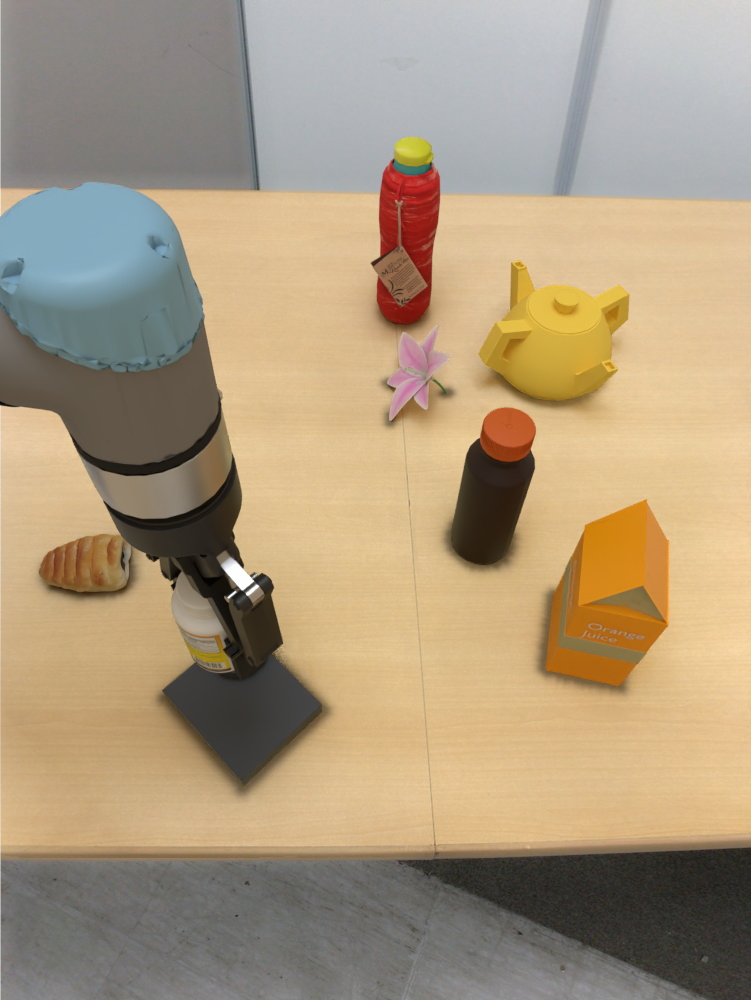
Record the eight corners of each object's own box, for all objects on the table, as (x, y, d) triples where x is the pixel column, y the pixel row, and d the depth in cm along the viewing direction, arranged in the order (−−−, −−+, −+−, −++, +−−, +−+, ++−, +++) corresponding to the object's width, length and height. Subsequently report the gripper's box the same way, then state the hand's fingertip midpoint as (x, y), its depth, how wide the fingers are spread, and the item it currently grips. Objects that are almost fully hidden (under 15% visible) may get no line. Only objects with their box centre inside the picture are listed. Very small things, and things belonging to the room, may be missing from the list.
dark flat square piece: (159, 689, 74) (151, 676, 71) (245, 618, 78) (241, 603, 76) (243, 786, 69) (238, 776, 66) (330, 703, 73) (329, 691, 70)
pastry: (41, 602, 79) (27, 584, 76) (48, 548, 83) (36, 529, 80) (130, 592, 80) (121, 575, 77) (134, 539, 84) (125, 520, 81)
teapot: (469, 390, 97) (482, 321, 88) (502, 310, 106) (517, 239, 97) (596, 426, 94) (624, 358, 85) (618, 341, 103) (646, 270, 93)
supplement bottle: (247, 603, 62) (231, 539, 54) (267, 661, 59) (254, 603, 51) (181, 625, 61) (155, 563, 53) (199, 686, 58) (174, 630, 50)
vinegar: (440, 525, 85) (460, 410, 69) (492, 508, 87) (524, 391, 70) (466, 573, 82) (493, 464, 65) (520, 554, 83) (560, 443, 67)
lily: (407, 356, 102) (376, 317, 94) (487, 354, 96) (460, 312, 88) (386, 434, 99) (352, 401, 91) (467, 438, 93) (438, 402, 85)
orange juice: (623, 610, 80) (692, 506, 63) (620, 687, 75) (694, 596, 58) (551, 595, 81) (600, 488, 64) (543, 670, 76) (594, 576, 59)
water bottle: (414, 354, 101) (428, 186, 80) (359, 339, 102) (359, 171, 82) (439, 298, 108) (458, 130, 87) (387, 285, 109) (394, 117, 88)
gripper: (331, 527, 39) (339, 685, 58) (124, 349, 46) (193, 542, 65) (219, 620, 36) (267, 755, 55) (16, 413, 43) (121, 596, 62)
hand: (227, 639), depth 60 cm, fingers closed on supplement bottle, 6 cm apart
